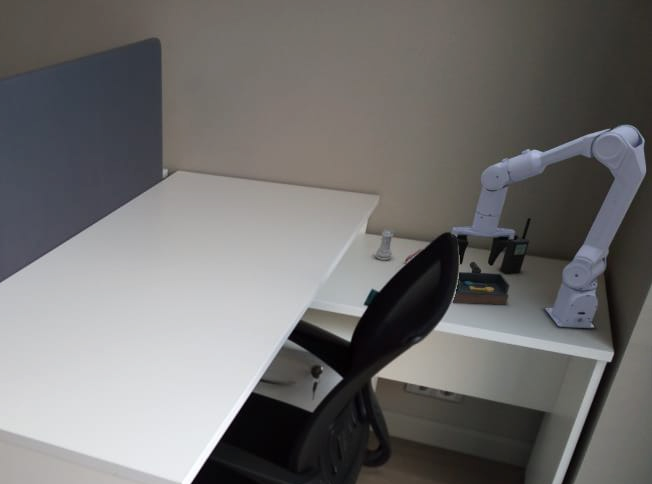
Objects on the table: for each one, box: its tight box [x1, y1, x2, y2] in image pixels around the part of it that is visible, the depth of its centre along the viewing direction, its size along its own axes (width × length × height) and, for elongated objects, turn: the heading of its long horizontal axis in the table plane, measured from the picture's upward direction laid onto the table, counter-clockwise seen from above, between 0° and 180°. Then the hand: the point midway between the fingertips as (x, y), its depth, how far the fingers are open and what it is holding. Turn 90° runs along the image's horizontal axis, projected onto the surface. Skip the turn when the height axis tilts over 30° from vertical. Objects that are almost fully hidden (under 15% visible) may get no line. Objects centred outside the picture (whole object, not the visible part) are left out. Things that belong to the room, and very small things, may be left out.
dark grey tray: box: [456, 261, 511, 296], centre depth 185 cm, size 11×12×4 cm
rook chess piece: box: [375, 229, 394, 261], centre depth 207 cm, size 4×4×8 cm
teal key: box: [464, 281, 487, 287], centre depth 185 cm, size 5×2×1 cm, turn 82°
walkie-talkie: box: [499, 217, 532, 274], centre depth 196 cm, size 5×3×15 cm
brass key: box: [469, 286, 494, 292], centre depth 183 cm, size 6×2×1 cm, turn 82°
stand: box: [452, 293, 509, 305], centre depth 186 cm, size 8×13×2 cm, turn 82°
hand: (474, 263), depth 188 cm, fingers open, 7 cm apart
